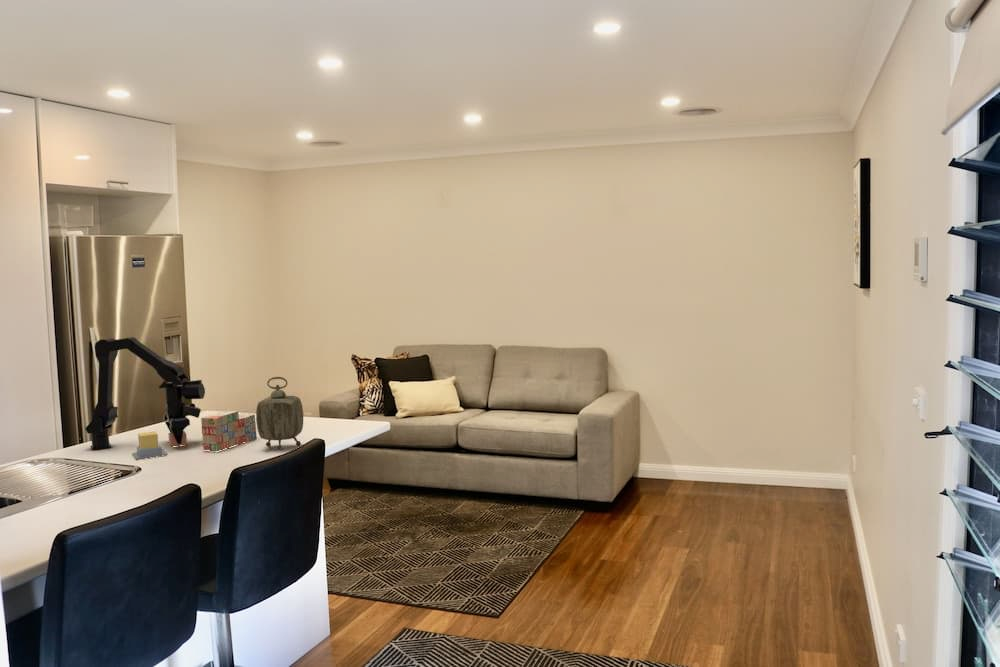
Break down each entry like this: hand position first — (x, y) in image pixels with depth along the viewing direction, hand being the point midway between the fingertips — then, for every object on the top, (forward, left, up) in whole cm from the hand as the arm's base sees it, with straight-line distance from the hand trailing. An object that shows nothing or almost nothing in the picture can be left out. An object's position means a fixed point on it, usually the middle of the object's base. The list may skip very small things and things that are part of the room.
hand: (177, 442), depth 303 cm
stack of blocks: (+13, +16, -1) cm, 20 cm away
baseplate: (+10, -11, -1) cm, 15 cm away
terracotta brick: (0, 0, -1) cm, 1 cm away
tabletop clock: (+30, +29, -1) cm, 42 cm away
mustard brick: (+10, -11, +2) cm, 15 cm away
